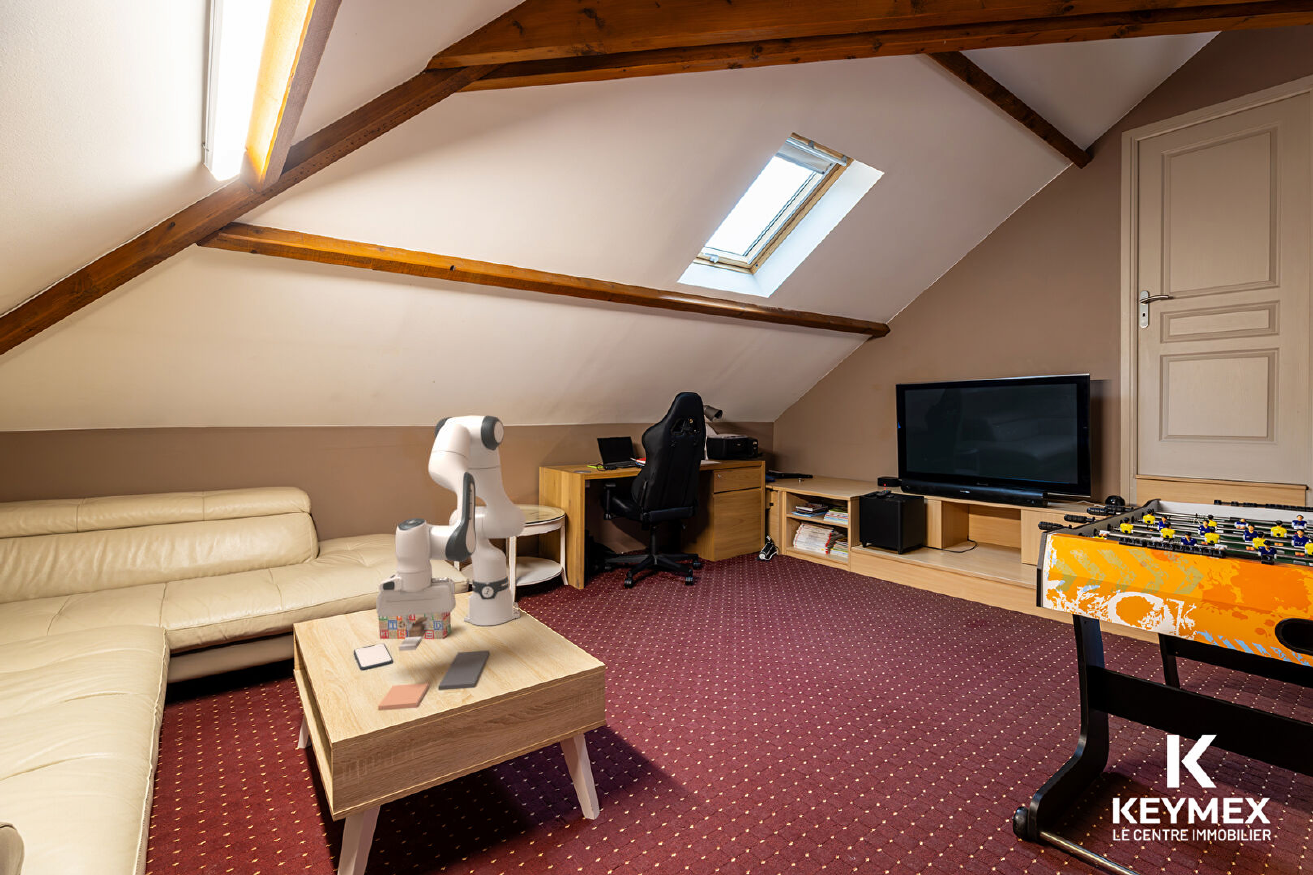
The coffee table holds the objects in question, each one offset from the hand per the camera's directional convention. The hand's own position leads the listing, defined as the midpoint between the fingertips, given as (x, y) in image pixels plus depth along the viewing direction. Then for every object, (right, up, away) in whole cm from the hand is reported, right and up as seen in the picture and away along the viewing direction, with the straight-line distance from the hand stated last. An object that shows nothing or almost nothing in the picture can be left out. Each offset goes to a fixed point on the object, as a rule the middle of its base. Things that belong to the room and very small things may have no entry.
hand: (418, 629), depth 169 cm
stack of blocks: (-13, -12, +31) cm, 35 cm away
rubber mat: (+12, -12, +2) cm, 17 cm away
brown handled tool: (0, -2, -2) cm, 3 cm away
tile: (+1, -13, -8) cm, 15 cm away
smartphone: (-18, -13, +13) cm, 26 cm away
